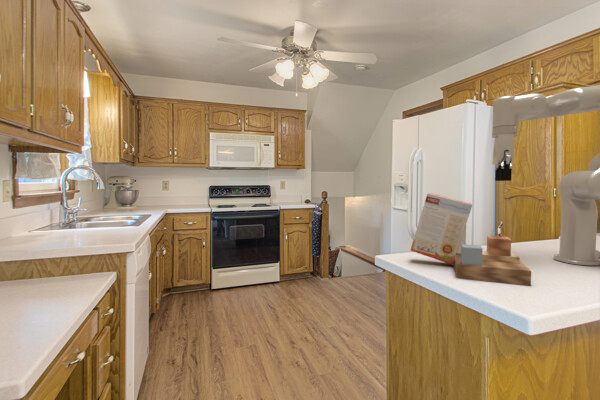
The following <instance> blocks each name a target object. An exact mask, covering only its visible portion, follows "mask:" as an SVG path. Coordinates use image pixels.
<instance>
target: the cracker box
mask: <svg viewBox="0 0 600 400" xmlns="http://www.w3.org/2000/svg"><path fill="white" fill-rule="evenodd" d="M472 208H473V204H472V203H471V202H467V201H463V200H459V199H456V198H452V197H447V196H444V195H440V194H435V193H432V192H427V195H426V198H425V200H424V204H423V207H422V210H421V214H420V217H419V220H418V223H417V227H416V230H415V232H414V233H415V234H414V237H413V240H412V244H411V247H410V251H411V252H413V253H416V254H419V255H422V256H425V257H428V258H431V259H435V260H437V261H440V262H443V263H446V264H448V265H453V263H454V255H456V254H457V251H458V248H459V245H460V242H461V239H462V235H463V232H464V229H465V226H466V227H467V223H468V220H469V216H470V214H471V210H472ZM453 266H454V265H453Z"/></svg>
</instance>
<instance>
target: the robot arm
mask: <svg viewBox="0 0 600 400" xmlns="http://www.w3.org/2000/svg"><path fill="white" fill-rule="evenodd" d="M492 103H493V104H492V128H491V129H492V132H491V137H492V138H493V139H494V141H493V153H492V165H494V166H495V177H494V180H495V182H507V181H508V182H510V181H512V172H513V171H512V163H513V162H514V151H515V147H514V146H515V145H514V142H515V141H514V140H515V139H514V137H517V136H518V127H519V125H518V123H519V122H524V121H532V120H541V119H546V118H554V117H555V118H556V117H561V116H569V115H576V114H582V113H590V112H591V113H592V112H600V84H599V85H598V84H597V85H591V86H582V87H574V88H570V89H567V90H564V91H561V92H558V93H555V94H552V95H548V96H546V95H544V94H542V93H534V92H533V93H530V94H529V93H528V94H524V95H523V94H522V95H516V96H515V95H504V96H499V97H497V98H496V99H494V101H493V102H492ZM518 121H519V122H518ZM588 169H589V170H576V171H572V172H569V173H567V174H566V175H564V176H563V177H562V178H561V180H560V181H559V186H558V187H559V196H560V202H561V212H560V231H559V232H560V234H559V236H560V237H559V249H558V250H559V251H558V253H556V254H554V255H553V259H554V260H555V261H557V262H562V263H565V264H566V263H567V264H571V265H579V266H580V265H581V266H591V267H592V266H595V267H596V266H600V251H599V250H597V249H596V247H597V234H598V233H597V232H598V231H597V230H598V229H597V228H598V219H599V218H598V217H599V216H598V214H599V211H598V206H597V202H596V200H597V201H600V152H599V153H598V154H596V155H595V156H594V157H593V158H591V160H590V161H589V166H588Z"/></svg>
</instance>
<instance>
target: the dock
mask: <svg viewBox="0 0 600 400" xmlns="http://www.w3.org/2000/svg"><path fill="white" fill-rule="evenodd" d="M453 268H454V269H453V270H454V272H455V278H456V279H464V280H465V279H466V280H473V281H474V280H475V281H480V282H481V281H482V282H492V283H502V284H510V285H518V286H519V285H520V286H527V287H528V286H530V287H531V286H532V285H531V284H532V270H531V269H530V268H528V266H527V265H526V264H524V262H522V261H521V260H520V264H518V263H506V262H495V261H484V260H482V266H475V265H464V264H462V262H461V253H457V254H456V255H454V263H453Z"/></svg>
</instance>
